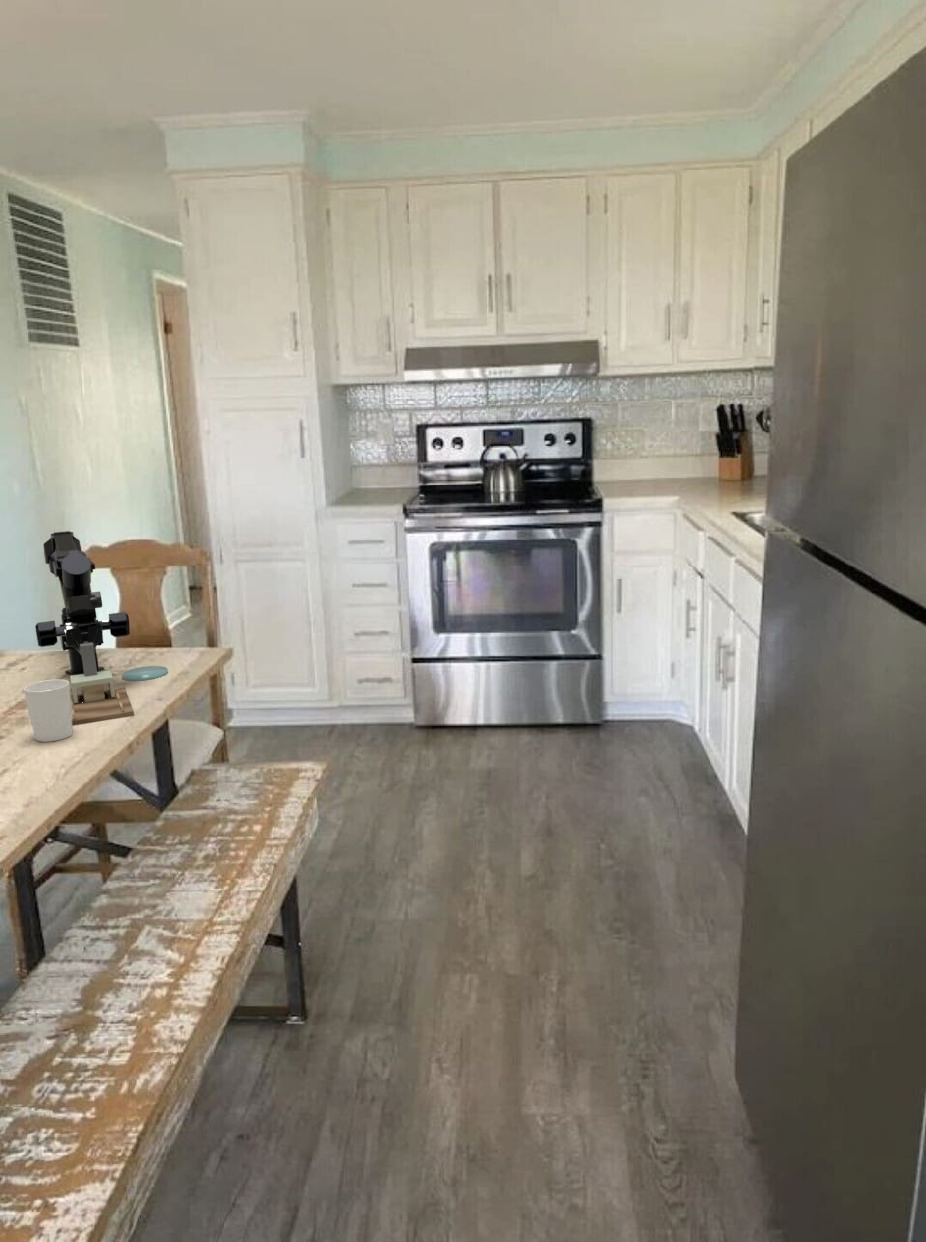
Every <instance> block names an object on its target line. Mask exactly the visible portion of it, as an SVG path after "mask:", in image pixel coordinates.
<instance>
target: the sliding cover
mask: <svg viewBox="0 0 926 1242" xmlns="http://www.w3.org/2000/svg"><path fill="white" fill-rule="evenodd" d="M80 648H81V655H82V662H83V670H84V674H80V675H73V674H72V675H70V676H69V677H70V686H71V690H72V695H73V698H74V703H78V697H77V694H78V691H77V688H82V687H84V686H90V685H97V684H103V685H104V684H108V690H109V691H110V694H111V697H115V690H114V688H115V684H114V677H113V674H112V671H111V670H109V669H107V670H101V671H98V672H97V668H96V660H95V653H94V646H93V642H91V643H84V644H80Z"/></svg>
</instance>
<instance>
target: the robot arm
mask: <svg viewBox="0 0 926 1242" xmlns="http://www.w3.org/2000/svg"><path fill="white" fill-rule="evenodd" d="M43 556H44V563H45V565H48V568H49V572H50V573H51V574H53V575H54V577H55V578H58V582H59V585H60V588H61V594H62V599H63V603H64V607H63V608H62V610H61V613H62V614H61V624H59V626H56V621H55V620H49V621H41V622H40V621H39V622H37V623H36V624H35V627H34V628H35V633H36V640H37V645H38V647H41V648H43V647H44V648H45V647H53V646H55V645H56V644H57V643H58V638H60V639H59V640H60V644H61V648H62V651H68V656H69V665H70V669H67V670H65V671H64V673H65V674H69V675H72V676H73V675H80V674H84V670H83V662H82V655H81V648H80V644H84V643H91V642H93V646H94V653H95V660H96V668H97V672H101V671H105V666H104V667H103V666H99V659H98V654H97V649H96V648H97V646H102V644H104V635H103V631H108V630H109V632H110V636H112V637H114V638H119V637H120V638H121V637H126V636H129V635H130V633H131V629H130V619H129V617H130V616H129V613H127V612H125V611H122V612H113V613H109V614H108V619H107V620H98V618H97V612H96V609H100V608H103V600H102V594H101V591H92V588H91V582H92V574H93V573H94V570H96V565H95V564H96V563H94V562H93V561H92V560H91V559H90V557H87V555H86V553H85V552H84V551H83V550H82V546H81V541H80V539H78V538H76V537H75V535H74V532H73V531H70V530H66V531H56V532H53V533H51V534H50V538H49V539H47V540H46V541H45V542H43Z"/></svg>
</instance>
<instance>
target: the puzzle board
mask: <svg viewBox="0 0 926 1242" xmlns="http://www.w3.org/2000/svg"><path fill="white" fill-rule="evenodd" d="M114 690H115V697H111V694H110V691H109V689H106V690H104V695H105V699H103V700H97V701H90V702H84V696H83V693H77V697H78V703H74V698H73V694H71V705H72V724H73V726H79V725H83V724H84V725H85V724H90V723H91V724H92V723H96V722H97V723H98V722H102V721H111V720H115V719H122V718H128V717H134V716H135V712H134V708H133V705H132V703H131V700H130V698H129V695H128V693H127V690H126V687H125V686H123V687H118V688H117V687H114ZM82 702H83V703H82Z"/></svg>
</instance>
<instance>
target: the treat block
mask: <svg viewBox="0 0 926 1242" xmlns="http://www.w3.org/2000/svg"><path fill="white" fill-rule="evenodd" d="M81 688H82V694H83V696H84V702H90V701H97V700H103V699H105V695H104V688H105V687H104V684H97V685H90V686H84V687H81Z"/></svg>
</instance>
